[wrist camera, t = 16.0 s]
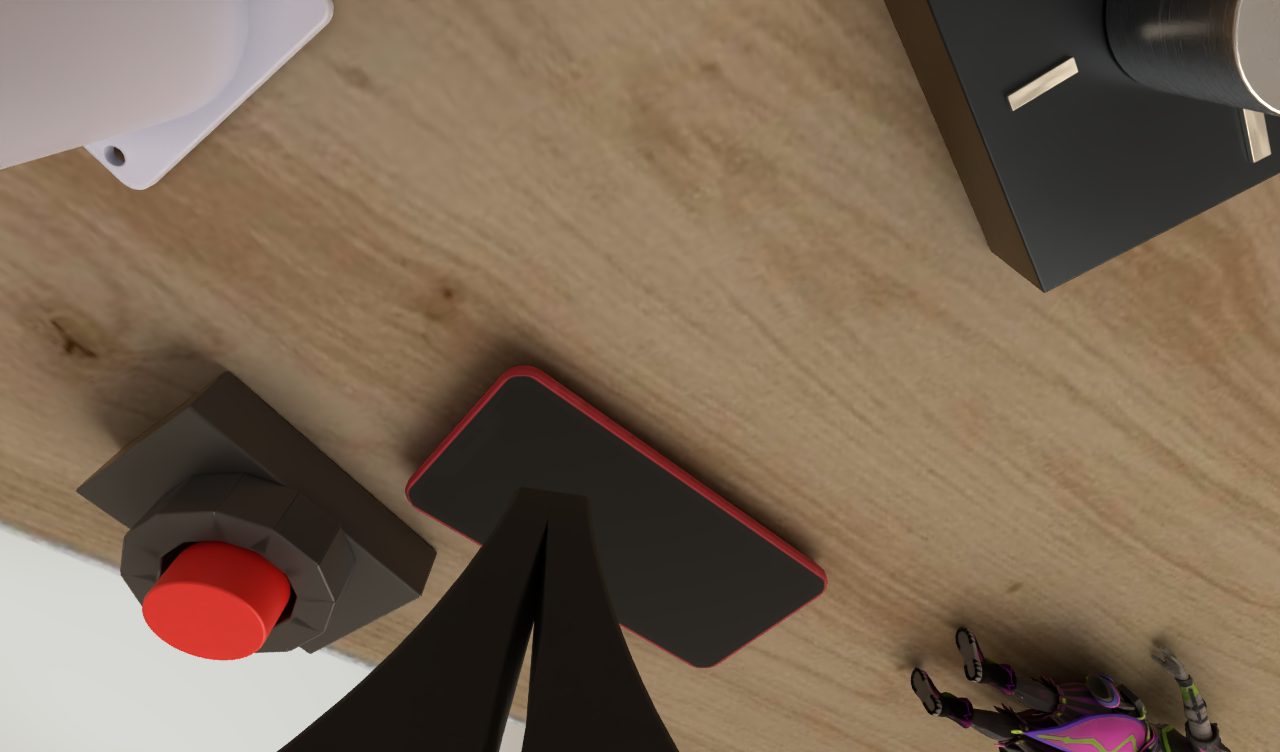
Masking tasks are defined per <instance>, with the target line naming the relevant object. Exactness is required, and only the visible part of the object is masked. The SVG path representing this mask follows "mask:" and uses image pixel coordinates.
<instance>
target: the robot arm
mask: <svg viewBox="0 0 1280 752" xmlns="http://www.w3.org/2000/svg"><path fill="white" fill-rule="evenodd" d="M333 12H334V6H333V1H332V0H0V170H1V169H4V168H8V167H11V166H15V165H18V164H21V163H25V162H28V161H32V160H35V159H39V158H42V157H46V156H49V155H53V154H56V153H60V152H63V151H66V150H70V149H73V148H77V147H80V146H83V147H85V148H86V149H87V150H88V151H89V152H90V153H91V154H92V155H93V156H94V157H95V158H96V159H97V160H98V161H99V162H101V163H102V164H103V165H104V166H105V167H106V168H107V169H108V170H109V171H110V172H111V173H112V174H113V175H114V176H115V177H117V178H118V179H119V180H120V181H121V182H122V183H124V184H125V185H126V186H128V187H130V188H133V189H136V190H143V189H145V188H148V187H150V186H152V185H154V184H156V183H157V182H158V181H159V180H160V179H161V178H162V177H163V176H164V175H166V174H167V173H168V172H169V171H170V170H171V169H172V168H173V167H174V166H175V165H176V164H177V163H178V162H180V161H181V160H182V159H183V158H184V157H185V156H186V155H187V154H188V153H189V152H190V151H191V150H192V149H194V148H195V147H196V146H197V145H198V144H199V143H200V142H201V141H202V140H203V139H204V138H205V137H206V136H208V135H209V134H210V133H211V132H212V131H213V130H214V129H215V128H216V127H217V126H218V125H219V124H220V123H222V122H223V121H224V120H225V119H226V118H227V117H228V116H229V115H230V114H231V113H232V112H233V111H234V110H236V109H237V108H238V107H239V106H240V105H241V104H242V103H243V102H244V101H245V100H246V99H247V98H248V97H250V96H251V95H252V94H253V93H254V92H255V91H256V90H257V89H258V88H259V87H260V86H261V85H262V84H264V83H265V82H266V81H267V80H268V79H269V78H270V77H271V76H272V75H273V74H274V73H275V72H276V71H278V70H279V69H280V68H281V67H282V66H283V65H284V64H285V63H286V62H287V61H288V60H289V59H291V58H292V57H293V56H294V55H295V54H296V53H297V52H298V51H299V50H300V49H301V48H302V47H303V46H305V45H306V44H307V43H308V42H309V41H310V40H311V39H312V38H313V37H314V36H315V35H316V34H317V33H319V32H320V31H321V30H322V29H323V28H324V27H325V26H326V25H327V24H328V23H329V22H330V20H331V19H332V17H333ZM114 147H116V148H118V149H119V150H121V152H122V153H123V155H124V158H125V162H123V161H122V160H120V159H119V158H118V157H117V155H116V154H115V151H114ZM533 623H534V630H533V643H532V655H531V668H530V681H529V694H528V707H527V720H526V728H525V734H524V740H523V746H522V751H521V752H679V751H678V749H677V747H676V745H675V743H674V742H673V740H672V738H671V736H670V734H669V733H668V731H667V729H666V727H665V725H664V723H663V722H662V720H661V718H660V716H659V714H658V713H657V711H656V709H655V707H654V705H653V702H652V700H651V698H650V696H649V694H648V692H647V690H646V688H645V686H644V684H643V682H642V679H641V677H640V675H639V673H638V670H637V668H636V666H635V663H634V661H633V659H632V656H631V654H630V652H629V649H628V647H627V644H626V641H625V639H624V636H623V634H622V631H621V628H620V625H619V622H618V620H617V617H616V614H615V611H614V608H613V605H612V602H611V599H610V596H609V592H608V589H607V585H606V582H605V578H604V575H603V571H602V567H601V563H600V559H599V555H598V550H597V545H596V541H595V535H594V529H593V522H592V510H591V500H590V499H589V498H588V497H587V496H584V495H577V494H570V493H563V492H555V491H548V490H541V489H534V488H527V487H520V488H518V489H516V490H515V491H514V493H513V495H512V497H511V500H510V502H509V503H508V505H507V507H506V509H505V511H504V513H503V514H502V516H501V518H500V519H499V521H498V523H497V524H496V526H495V527H494V529H493V530H492V532H491V534H490V535H489V537H488V538H487V540H486V541H485V542H484V544H483V545H482V547H481V548H480V549H479V551H478V552H477V554H476V555H475V556H474V558H473V559H472V561H471V562H470V563H469V565H468V566H467V567H466V569H465V570H464V571H463V573H462V574H461V575H460V576H459V578H458V579H457V580H456V581H455V583H454V584H453V585H452V586H451V587H450V589H449V590H448V591H447V592H446V594H445V595H444V596H443V597H442V598H441V600H440V601H439V602H438V603H437V604H436V606H435V607H434V608H433V609H432V610H431V611H430V612H429V614H428V615H427V616H426V617H425V618H424V619H423V620H422V621H421V623H420V624H419V625H418V626H417V627H416V628H415V629H414V630H413V631H412V632H411V633H410V634H409V635H408V636H407V637H406V638H405V639H404V640H403V642H402V643H401V644H400V645H399V646H398V647H397V648H396V649H395V650H394V651H393V652H392V653H391V654H390V655H389V656H388V657H386V658H385V659H384V660H383V661H382V662H381V663H380V664H379V665H378V666H377V667H376V668H375V669H374V670H373V671H372V672H371V673H370V674H369V675H368V676H367V677H366V678H365V679H364V680H363V681H361V682H360V683H359V684H358V685H357V686H356V687H355V688H354V689H353V690H351V691H350V692H349V693H348V694H347V695H346V696H345V697H344V698H342V699H341V700H340V701H339V702H337V703H336V704H335V705H334V706H333V707H331V708H330V709H329V710H328V711H327V712H325V713H324V714H323V715H322V716H321V717H319V718H318V719H317V720H316V721H315V722H313V723H312V724H311V725H310V726H308V727H307V728H306V729H305V730H304V731H302V732H301V733H300V734H299V735H298V736H296V737H295V738H294V739H293V740H291V741H290V742H289V743H288V744H286V745H285V746H284V747H282V748H281V749H280V750H279V751H277V752H499V750H500V745H501V741H502V736H503V733H504V730H505V726H506V722H507V719H508V715H509V711H510V708H511V704H512V700H513V697H514V693H515V689H516V686H517V682H518V678H519V675H520V671H521V667H522V664H523V660H524V656H525V653H526V649H527V645H528V642H529V638H530V634H531V631H532V627H533Z"/></svg>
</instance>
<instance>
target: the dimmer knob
mask: <svg viewBox="0 0 1280 752" xmlns="http://www.w3.org/2000/svg"><path fill="white" fill-rule="evenodd" d="M1106 28H1107V35H1108V39H1109V43H1110V47H1111V49H1112V51H1113V54H1114V56H1115V58H1116V60H1117V61H1118V63H1119V64H1120V66H1121V67H1122V69H1123V70H1124V71H1125V72H1126V73H1127V74H1128V75H1129V76H1130V77H1131V78H1133V79H1134V80H1136V81H1137V82H1138V83H1140V84H1142V85H1144V86H1146V87H1149V88H1151V89H1154V90H1158V91H1162V92H1166V93H1171V94H1176V95H1181V96H1185V97H1190V98H1195V99H1199V100H1204V101H1209V102H1214V103H1218V104H1223V105H1228V106H1232V107H1237V108H1242V109H1247V110H1251V111H1256V112H1261V113H1265V114H1270V115H1275V116H1279V117H1280V0H1107V1H1106Z"/></svg>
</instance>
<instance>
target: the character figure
mask: <svg viewBox="0 0 1280 752" xmlns="http://www.w3.org/2000/svg"><path fill="white" fill-rule="evenodd" d="M956 644H957V647H958V649H959V651H960V653H961V654H962V656H963V658H964V669H965V675H966V677H967V679H968V680H970V681H973V682H976V683H987V684H990V685H992V686H994V687H996V688H997V689H999V690H1000V691H1001V692H1002V693H1004V694H1010V695H1011V696H1013V697H1014V698H1015V699H1017V700H1018V701H1019V702H1021V703H1022V704H1024V705H1026V706H1027V707H1030V708H1032V709H1028V710H1025V711H1022V712H1018V713H1015V712H1014V711H1013V710H1012V708H1011V707H1009V708H1010V710H1011V711H1010V710H1009V709H1008V708H1007V707H1006V706H1005V705H1004V704H1003V703H1002V706H1003V708H1004V709H1005V710H1004V709H1001V708H998V707H996V706H994V707H995V709H996V710H997V711H998V712H999V713H998V712H993V711H987V710H980V709H973V706H972V704H971V702H970V701H969V700H968V699H967V698H957V697H956V696H954V695H953V694H951V693H948V692H943V693H940V692H939V691H938V690H937V689H936V687H935V686H934V684H933V682H932V680H931V679H930V677H929V676H928V674H927V673H926V672H925V671H924V670H921V669H919V668H915V669H914V670H913V672H912V675H911V685H912V689H913V690H914V692H915V693H916V695H917V696H918V697H919V698H920V699H921V701H922V703H923V705H924V707H925V709H926V710H927V712H928V713H929V714H931V715H934V716H940V717H947V718H949V719H951V720H953V721H955V722H956V723H958V724H959V725H960V726H962V727H964V728H965V729H966V728H969V727H972V728H974V729H975V730H977V731H979V732H980V733H982V734H984V735H985V736H987V737H990V738H992V739H995V740H999V742H998V743H999V744H994V745H995V746H998V747H999V751H1000V752H1231V751H1230V750H1229V749H1228V748H1227V747H1225V746H1224V745H1223V744H1222V743H1221V738H1220V737H1219V729H1218V727H1217V723H1213V724H1212V723H1210V722H1209V718H1208V715H1207V711H1206V702H1205V701H1204V700H1203V699H1202V697H1201V696H1200V694H1199V692H1198V690H1197V688H1196V686H1195V684H1194V681H1193V679H1192V677H1190V675H1188V674H1187V672H1186V670H1185V668H1184V666H1183V664H1182V663H1181V662H1180V660H1179V659H1178V658H1177V657H1176V656H1175V655H1174V654H1173V653H1172V652H1171V651H1170V650H1168V649H1166V648H1163V647H1161V646H1158V647H1157V646H1154V645H1153V647H1154V648H1155V649H1156V650H1158V651H1159V652H1160V653H1161V654H1162V655H1163V656H1164V658H1165V662H1164V661H1162V660H1161V659H1159V658H1158V657H1156V656H1154V655H1151V657H1152V659H1153V660H1154V661H1155V662H1157V663H1158V664H1160V665H1161V667H1162V668H1163V669H1164V670H1165V671H1166V672H1168V673H1169V674H1170V675H1172V676H1174V678H1175V680H1176V681H1177V683H1178V685H1179V687H1180V689H1181V692H1182V698H1183V703H1184V711H1185V715H1186V717H1187V719H1188V720H1187V722H1186V723H1185V731H1186V737H1184V736H1183V735H1181V734H1180V733H1179V732H1178V731H1177V730H1175V729H1174V728H1173V727H1171V726H1170V725H1167V724H1161V723H1158V724H1155V725H1154V724H1151V723H1149V722H1148V721H1147V718H1146V716H1147V715H1148V714H1147V711H1146V708H1145V705H1144V704H1143V703H1142V702H1141V700H1140V698H1139V697H1137V696H1136V695H1135V694H1134V693H1133V692H1132V691H1130V690H1129V689H1128V688H1127V687H1126V686H1124V685H1123V684H1121V685H1120V686H1118V687H1117V688H1116V687H1115V686H1114V685H1113V684H1111V683H1110V682H1108V681H1107V680H1106V679H1108V680H1110V681H1113V682H1114V680H1112V679H1111V678H1110V677H1108V676H1106V675H1103V674H1096V673H1093V674H1089V675H1087V676H1086V685H1085V684H1081V683H1077V682H1063V683H1060V684H1057V685H1055V684H1054V682H1053V681H1052V679H1051V678H1050V677H1049V682H1050V683H1049V682H1048V681H1047V680H1046V679H1045V678H1044V677H1043V676H1042V675H1041V674H1040V677H1041V680H1042V682H1041V681H1039V680H1037V679H1035V678H1033V677H1031V678H1032V679H1027V678H1023V677H1018V676H1016V675H1015V672H1014V671H1013V669H1012V668H1011V666H1010V665H1008V664H999V663H997V662H996V661H994V660H992V659H989V658H984V656H983V654H982V652H981V650H980V648H979V645H978V642H977V640H976V637H975V635H974V634H973V633H972V632H971V631H970V630H968V629H967V628H965V627H961V628H959V629H958V630H957V632H956ZM1104 678H1105V679H1104ZM1120 694H1121V696H1122V698H1123V699H1124V701H1121V698H1120ZM1002 742H1005V743H1002Z"/></svg>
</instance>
